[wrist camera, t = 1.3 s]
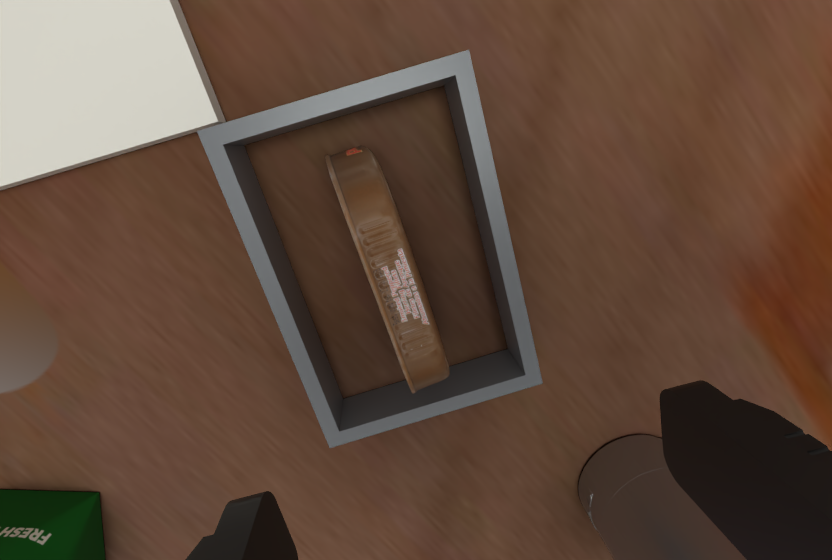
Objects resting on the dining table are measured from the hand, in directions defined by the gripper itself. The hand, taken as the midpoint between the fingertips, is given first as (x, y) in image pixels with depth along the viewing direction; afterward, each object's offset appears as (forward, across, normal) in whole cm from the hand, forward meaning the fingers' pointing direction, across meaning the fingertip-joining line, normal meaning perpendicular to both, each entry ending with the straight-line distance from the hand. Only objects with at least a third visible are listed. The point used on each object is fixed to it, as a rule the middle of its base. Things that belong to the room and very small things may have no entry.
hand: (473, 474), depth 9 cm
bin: (+22, +1, +1) cm, 22 cm away
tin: (+22, +1, +1) cm, 22 cm away
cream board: (+22, +18, -14) cm, 32 cm away
